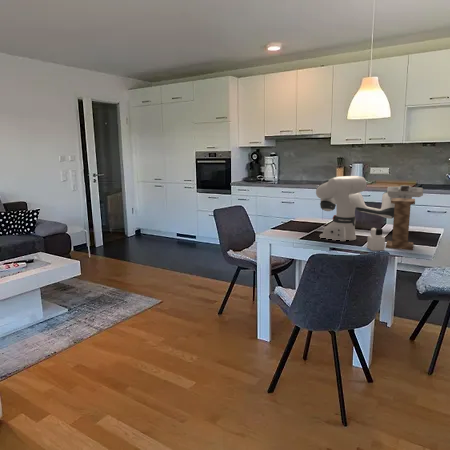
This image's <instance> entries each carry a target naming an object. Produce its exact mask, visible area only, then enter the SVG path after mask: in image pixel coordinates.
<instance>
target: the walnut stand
mask: <svg viewBox="0 0 450 450" xmlns="http://www.w3.org/2000/svg"><path fill="white" fill-rule="evenodd" d="M391 203H393V204H395V207H394V218H393V223H392V225H393V226H392V235H391V237H392V238H391V239H392V240H386V242H385V248H386V249H396V250H397V249H398V250H407V251H408V250H409V251H413V250H414V242H412V241H411V242H410V241H409V231H410V230H409V229H410V220H411V219H410V217H411V208H412V207H411V205H416V199H415V198H412V199H406V198H392V199H391Z"/></svg>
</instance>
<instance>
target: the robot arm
mask: <svg viewBox="0 0 450 450" xmlns="http://www.w3.org/2000/svg"><path fill="white" fill-rule="evenodd" d="M367 186H368V185H367V181H366V178H365V177H363V176H360V175H344V176H339V175H338V176H334V177H331V178H329V179H326V180H324V181H323V183H321V184H320V185H319V186H318V187H317V188H316V190H315V194H316V196H317V198H318V199H320V203H319V205H320V206H319V207H320V209H321V210H323V211H324V212H331V211H332V212H333V211H335V210H336V213H335V215H333V216H332V222H330V223H328V224H327V225H326V226H325V227H324V228H323V232H322V233H320V234H319V237H320V238H319V237H318V238H319V239H321V238H326V239H325V240H328V239H332V240H331V241H336V240H340V241H339V242H346V240H349V241H354V240H355V241H356V240H357V235H356V227H355V226H356V221H357V219H356V211H357V212H359V213H363V214H365V215H372V216H375V217H376V216H377V217H382V218H385V219H389V220H390V219H394V207H395V204H393V203H391V199H392V198H406V199H413V198H421V197H423V196H424V188H423V187H412V186H411V185H408V186H409V191H401V185H400V186H388V187H387V191H385V192H384V193H383V194H382V198H381V207H380V208H376V207H370V206H367V204H366V203H365V200H364V197H363V195H362V192H365V190H366V189H367Z"/></svg>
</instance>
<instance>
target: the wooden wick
mask: <svg viewBox="0 0 450 450" xmlns="http://www.w3.org/2000/svg"><path fill="white" fill-rule="evenodd" d="M409 186H410V185H409V184H403V185H401V191H409Z"/></svg>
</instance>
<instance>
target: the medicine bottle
mask: <svg viewBox="0 0 450 450" xmlns="http://www.w3.org/2000/svg"><path fill="white" fill-rule="evenodd" d="M383 234H384V233H383V228H381V227H371V229H370V235H367V240H366V241H367V243H366V248H368V249H369V250H370V251H371V252H373V251H374V252H375V251H376V252H378V251H380V252H381V251H385V248H386V237H384V236H383Z"/></svg>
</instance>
